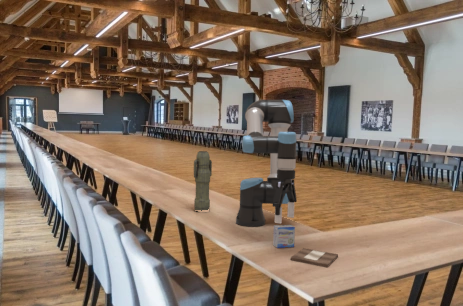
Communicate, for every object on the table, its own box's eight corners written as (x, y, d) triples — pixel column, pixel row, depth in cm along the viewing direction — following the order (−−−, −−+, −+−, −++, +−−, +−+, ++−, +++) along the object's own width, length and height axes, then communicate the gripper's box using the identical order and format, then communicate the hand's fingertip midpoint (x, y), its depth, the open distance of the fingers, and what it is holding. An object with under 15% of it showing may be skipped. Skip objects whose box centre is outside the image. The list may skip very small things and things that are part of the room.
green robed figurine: (214, 210, 233) (215, 151, 231) (199, 213, 224) (200, 152, 222) (204, 208, 239) (205, 150, 237) (189, 211, 230) (190, 151, 228)
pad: (303, 250, 160) (303, 247, 160) (337, 256, 153) (338, 253, 153) (290, 260, 148) (290, 256, 148) (327, 267, 141) (327, 263, 141)
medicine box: (276, 248, 162) (277, 227, 162) (272, 245, 166) (273, 225, 166) (294, 247, 164) (295, 226, 164) (290, 244, 169) (290, 224, 168)
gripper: (288, 166, 176) (287, 214, 177) (265, 170, 154) (263, 224, 155) (305, 167, 172) (303, 216, 173) (282, 171, 151) (281, 226, 152)
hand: (284, 220), depth 164 cm, fingers open, 13 cm apart
